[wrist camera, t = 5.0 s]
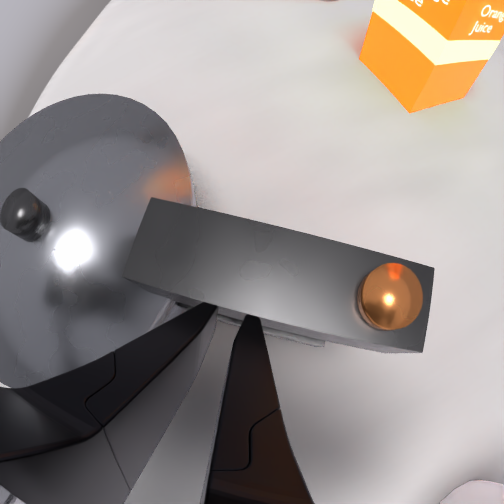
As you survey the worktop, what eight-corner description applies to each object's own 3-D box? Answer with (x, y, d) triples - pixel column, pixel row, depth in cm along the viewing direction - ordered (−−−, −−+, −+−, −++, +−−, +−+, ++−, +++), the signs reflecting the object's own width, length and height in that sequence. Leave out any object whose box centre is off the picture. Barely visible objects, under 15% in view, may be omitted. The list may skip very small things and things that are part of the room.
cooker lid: (332, 497, 10) (362, 551, 6) (-61, 319, 12) (-110, 306, 8) (400, 162, 14) (438, 105, 10) (27, 106, 16) (-3, 66, 12)
